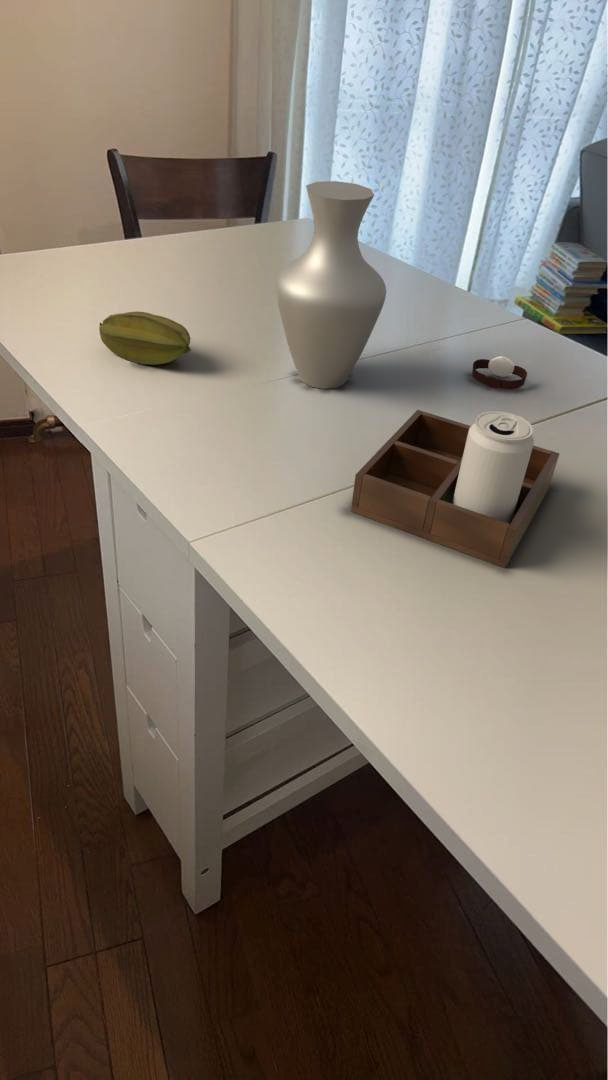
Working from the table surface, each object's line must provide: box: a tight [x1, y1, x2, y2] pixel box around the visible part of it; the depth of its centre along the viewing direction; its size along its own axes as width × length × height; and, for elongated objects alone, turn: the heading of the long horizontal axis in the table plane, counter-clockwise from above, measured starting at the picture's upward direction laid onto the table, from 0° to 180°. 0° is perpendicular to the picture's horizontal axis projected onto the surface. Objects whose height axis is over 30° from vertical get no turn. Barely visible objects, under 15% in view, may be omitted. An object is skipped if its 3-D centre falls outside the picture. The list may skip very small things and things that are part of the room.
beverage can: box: [452, 410, 535, 524], centre depth 81 cm, size 6×6×12 cm
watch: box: [471, 355, 528, 390], centre depth 113 cm, size 8×5×4 cm, turn 70°
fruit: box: [98, 311, 192, 366], centre depth 110 cm, size 11×12×7 cm
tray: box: [350, 409, 560, 569], centre depth 88 cm, size 17×17×5 cm
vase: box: [274, 180, 387, 390], centre depth 104 cm, size 14×14×25 cm
